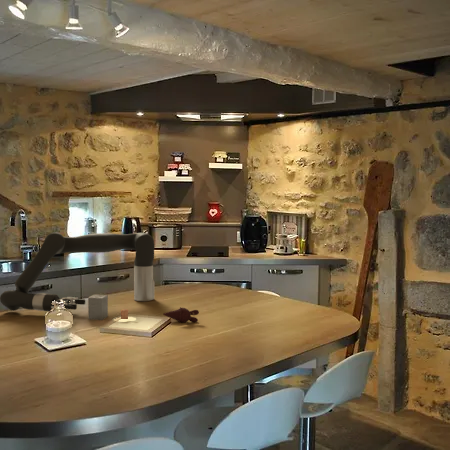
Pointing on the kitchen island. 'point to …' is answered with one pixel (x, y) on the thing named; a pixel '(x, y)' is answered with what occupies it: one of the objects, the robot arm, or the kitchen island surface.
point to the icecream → (182, 315)
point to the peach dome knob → (124, 314)
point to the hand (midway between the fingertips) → (80, 304)
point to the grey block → (97, 307)
